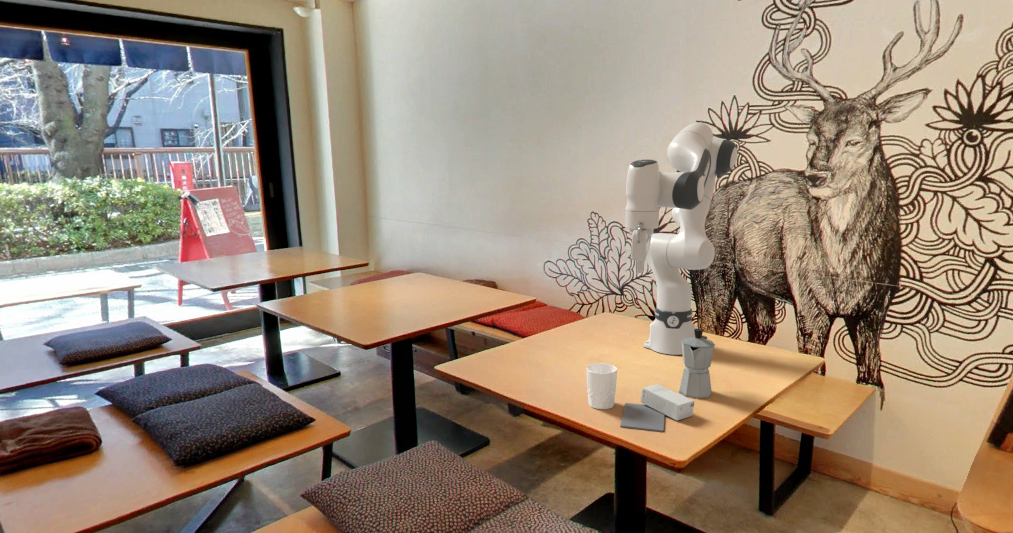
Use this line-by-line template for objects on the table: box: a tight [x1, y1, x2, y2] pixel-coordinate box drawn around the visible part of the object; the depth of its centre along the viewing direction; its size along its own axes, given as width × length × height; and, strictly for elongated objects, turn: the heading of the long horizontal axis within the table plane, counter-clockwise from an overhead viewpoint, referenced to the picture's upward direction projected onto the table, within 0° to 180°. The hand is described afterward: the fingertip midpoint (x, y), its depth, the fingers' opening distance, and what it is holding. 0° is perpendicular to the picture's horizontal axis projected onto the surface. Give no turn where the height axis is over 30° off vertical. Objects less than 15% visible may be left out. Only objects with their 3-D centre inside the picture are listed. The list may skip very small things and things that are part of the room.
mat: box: [619, 402, 666, 433], centre depth 146 cm, size 14×10×1 cm
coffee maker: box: [678, 328, 716, 400], centre depth 160 cm, size 15×9×18 cm, turn 151°
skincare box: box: [640, 384, 695, 421], centre depth 149 cm, size 6×4×12 cm
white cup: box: [586, 362, 618, 410], centre depth 153 cm, size 8×8×10 cm
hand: (640, 271), depth 160 cm, fingers closed
